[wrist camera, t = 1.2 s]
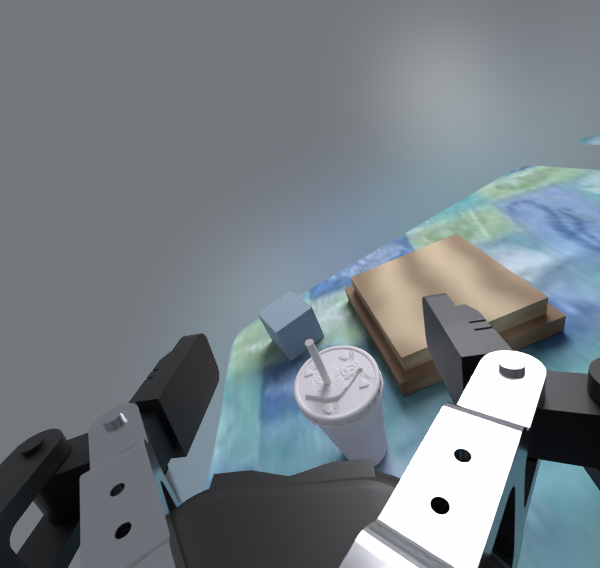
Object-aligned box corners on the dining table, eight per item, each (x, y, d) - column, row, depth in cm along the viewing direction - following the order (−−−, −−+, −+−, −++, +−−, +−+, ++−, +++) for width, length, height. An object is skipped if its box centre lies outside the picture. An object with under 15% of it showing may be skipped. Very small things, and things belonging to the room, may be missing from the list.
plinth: (461, 253, 45) (459, 227, 43) (563, 331, 32) (568, 299, 29) (348, 300, 45) (340, 276, 43) (403, 396, 32) (396, 370, 30)
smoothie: (318, 434, 32) (259, 333, 24) (377, 400, 33) (338, 290, 25) (350, 502, 27) (288, 400, 19) (420, 459, 27) (387, 343, 20)
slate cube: (303, 318, 46) (290, 290, 43) (324, 336, 42) (311, 307, 39) (272, 340, 44) (257, 313, 41) (291, 361, 40) (275, 332, 38)
